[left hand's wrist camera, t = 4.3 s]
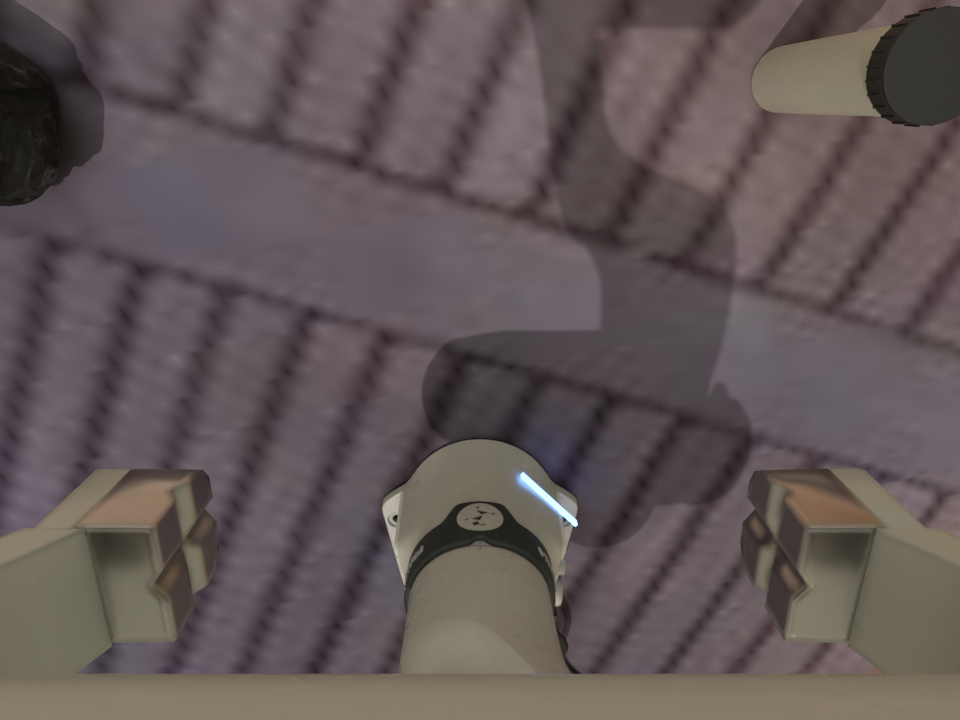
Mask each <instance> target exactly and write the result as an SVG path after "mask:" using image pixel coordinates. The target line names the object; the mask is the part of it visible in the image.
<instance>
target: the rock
mask: <svg viewBox="0 0 960 720" xmlns="http://www.w3.org/2000/svg"><path fill="white" fill-rule="evenodd" d="M59 117H60V113H59V105H58V101H57V98H56V95H55V93H54V91H53V89H52V87H51V84H50V81H49V80H48V78H47V77H46V76H45V75H44V74H43V73H42V72H40V71H39V70H38V69H37V68H35V67H34V66H33V65H32V64H31V63H30V62H29V61H28V60H27V59H26V58H25V57H23V56H22V55H20V54H19V53H17V52H16V51H14V50H13V49H11V48H10V47H9V46H7V45H5V44H3V43H2V42H0V206H14V205H21V204H26V203H29V202H31V201H33V200H35V199H37V198H39V197H40V196H41V195H42V194H43V193H44V192H45V190H46V189H47V188H48V187H49V186H50V185H51V184H52V183H55V182H57V180H58V177H59V173H60V168H61V162H62V149H61V144H60V141H59V138H58V135H57V127H56V126H57V124H58V122H59Z"/></svg>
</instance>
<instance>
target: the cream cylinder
mask: <svg viewBox="0 0 960 720" xmlns="http://www.w3.org/2000/svg"><path fill="white" fill-rule="evenodd" d="M890 28H891V25H890V26H884V27H879V28H874V29H868V30H863V31H858V32H853V33H847V34H842V35H837V36H831V37H826V38H821V39H816V40H810V41H805V42H800V43H794V44H789V45H784V46H779V47H776V48H774V49H772V50H770V51H769V52H768V53H766V54H765V55H764V56H763V57H762V58H761V59H760V61H759V62H758V64H757V65H756V67H755V69H754V72H753V75H752V81H751V88H752V93H753V96H754V99H755V100H756V102H757V103H758V104H759V105H760V106H761V107H762V108H763V109H765V110H767V111H769V112H773V113H793V114H822V115H852V116H881V115H880V114H879V113H878V112H877V111H876V109H873V108H872V107H873V105H872V103H871V102H870V99H869V97H867V94H868V93H867V89H866V83H865V80H866V72H867V68H866V66H867V65H868V63H869V59H870V57H871V54H872V53H871V52H872V50H874V48H875V47H876V45H877V43H878V42H879V40H880V37H881V36H883V35H884V34H885V33H886V32H887V31H888V30H889V29H890Z"/></svg>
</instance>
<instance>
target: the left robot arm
mask: <svg viewBox="0 0 960 720" xmlns="http://www.w3.org/2000/svg"><path fill="white" fill-rule="evenodd" d="M212 497H213V494H212V489H211V484H210V479H209V476H208V475H207V474H206V473H205V472H204V471H203V470H182V469H134V468H113V469H99V470H95V471H94V472H93V473H92V474H91V475H90V476H89V477H88V478H87V479H86V480H85V481H84V482H83V483H82V484H80V485H79V486H78V487H77V488H76V489H75V490H74V491H73V492H72V493H71V494H70V495H69V496H68V497H67V498H66V499H64V500H63V501H62V502H61V503H60V504H59V505H58V506H57V507H56V508H55V509H54V510H53V511H52V512H51V513H50V514H49V515H47V516H46V517H45V518H44V519H43V520H42V521H41V522H40V523H39V524H38V525H37V526H36V527H35V528H28V529H20V530H18V531H15V532H13V533H11V534H8V535H6V536H3V537H1V538H0V720H960V538H959V537H957V536H954V535H952V534H949V533H947V532H945V531H942V530H940V529H933V528H925V527H924V526H923V525H922V524H921V523H920V522H919V521H918V520H917V519H916V518H915V517H914V516H913V515H912V514H910V513H909V512H908V511H907V510H906V509H905V508H904V507H903V506H902V505H901V504H900V503H899V502H898V501H897V500H896V499H895V498H894V497H892V496H891V495H890V494H889V493H888V492H887V491H886V490H885V489H884V488H883V487H882V486H881V485H880V484H879V483H878V482H877V481H876V480H874V479H873V478H872V477H871V476H870V475H869V474H868V473H867V472H866V471H864V470H861V469H858V468H840V469H795V470H761V471H754V473H753V475H752V478H751V480H750V483H749V489H748V494H747V497H748V498H749V500H750V501H751V503H752V505H753V506H754V508H755V510H754V511H753V512H752V513H751V514H750V515H749V516H748V517H747V518H746V519H745V520H744V522H743V526H742V534H741V551H742V561H743V564H744V567H745V570H746V573H747V575H748V577H749V579H750V581H751V583H752V584H753V586H755V587H756V588H758V589H760V590H761V591H763V592H764V593H766V594H767V599H766V605H765V607H766V609H767V611H768V613H769V614H770V616H771V618H772V620H773V621H774V623H775V625H776V627H777V628H778V630H779V632H780V633H781V635H782V637H783V639H784V640H785V641H799V642H836V643H848V646H849V647H850V648H852V649H853V650H854V651H855V652H857V653H858V654H859V655H861V656H862V657H863V658H865V659H866V660H867V661H869V662H870V663H871V664H873V665H874V666H875V667H877V668H878V669H879V670H880V671H882V672H883V673H884V674H578V673H577V672H576V671H575V670H573V669H572V668H571V667H570V666H569V665H568V664H567V662H566V661H565V660H564V658H563V655H564V654H565V653H566V652H567V650H568V644H567V641H566V639H565V638H564V636H563V635H562V634H561V633H560V632H559V631H558V630H557V629H556V626H555V624H556V620H557V611H556V606H560V605H561V602H562V598H563V583H562V582H561V581H558V577H559V575H564V574H565V571H566V561H565V560H564V556H565V553H566V550H567V546H568V543H569V539H570V536H571V532H572V529H573V525H574V526H575V527H576V526H577V525H578V524H577V520H576V515H577V511H578V503H577V499H576V498H575V497H574V496H573V495H572V494H571V493H570V492H568V491H567V490H565V489H563V488H561V487H560V486H558V485H556V484H555V483H554V482H553V481H552V480H551V479H550V478H549V476H548V475H547V474H546V472H545V471H544V469H543V468H542V467H541V466H540V464H539V463H538V462H537V461H536V460H535V459H533V458H532V457H531V456H530V455H528V454H527V453H526V452H524V451H522V450H521V449H519V448H517V447H515V446H512V445H510V444H507V443H504V442H500V441H495V440H487V439H473V440H465V441H460V442H456V443H453V444H450V445H448V446H445V447H443V448H441V449H439V450H438V451H436V452H434V453H433V454H432V455H430V456H429V457H428V458H427V459H425V460H424V461H423V462H422V463H421V464H420V466H419V467H418V468H417V470H416V471H415V472H414V474H413V475H412V477H411V478H410V479H409V480H408V481H407V482H406V483H405V484H404V485H402V486H400V487H399V488H397V489H395V490H394V491H392V492H390V493H389V494H388V495H387V496H386V497H385V498H384V500H383V504H382V511H383V515H384V518H385V522H386V525H387V529H388V532H389V536H390V539H391V543H392V546H393V549H394V553H395V556H396V560H397V563H398V567H399V570H400V574H401V577H402V580H403V584H404V590H405V594H404V604H405V610H406V614H407V618H406V625H405V632H404V639H403V646H402V653H401V660H400V674H76V673H77V672H78V671H80V670H81V669H82V668H84V667H85V666H86V665H88V664H89V663H90V662H92V661H93V660H94V659H96V658H97V657H98V656H100V655H101V654H102V653H103V652H105V651H106V650H107V649H109V648H110V647H111V646H112V643H124V642H159V641H176V639H177V637H178V635H179V634H180V632H181V630H182V628H183V627H184V625H185V623H186V621H187V620H188V618H189V616H190V614H191V613H192V611H193V609H194V607H195V605H194V599H193V594H194V593H196V592H197V591H199V590H200V589H202V588H204V587H205V586H207V584H208V583H209V581H210V579H211V577H212V575H213V573H214V571H215V567H216V563H217V558H218V554H219V532H218V525H217V522H216V520H215V519H214V518H213V517H212V516H211V515H210V514H209V513H208V512H207V511H206V510H205V508H206V506H207V505H208V503H209V501H210V500H211V498H212ZM394 515H398V517H397V518H396V517H394ZM562 515H563V516H564V518H563V517H562ZM560 645H561V647H560Z"/></svg>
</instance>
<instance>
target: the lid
mask: <svg viewBox="0 0 960 720" xmlns="http://www.w3.org/2000/svg"><path fill="white" fill-rule="evenodd" d="M904 17H905V18H904V19H902V20H900V21H899V22H897V23H896V24H892V25H891V28H890V29H889V30H888V31H887V32H886V33H885V34H884V35H883V36H881V37H880V40H879V42H878V43H877V45H876V47H875V48H874V50H872V52H871V53H872V54H871V57H870V59H869V63H868V65H867V66H866V68H867V72H866V80H865V83H866V89H867V93H868V94H867V97H869V99H870V102H871V103H872V105H873V107H872V108H873V109H876V111H877V112H878V113H879V114H880V115H881V118H886V119H887V120H889V121H892V124H905V125H904V126H914V127H920V125H930V126H933V125H936V124H940V123H944V122H947V121H949V120H951V119H953V118H955V117H957V116H959V115H960V7H951V6H946V7H941V8H936V7H934V8H929V9H924V10H920V11H919V13H915V14H911V15H906V16H904Z"/></svg>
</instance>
